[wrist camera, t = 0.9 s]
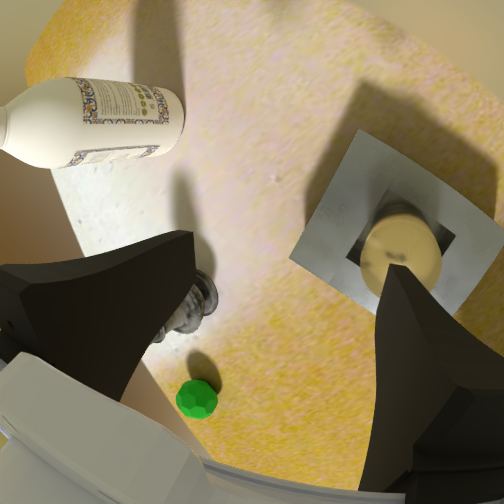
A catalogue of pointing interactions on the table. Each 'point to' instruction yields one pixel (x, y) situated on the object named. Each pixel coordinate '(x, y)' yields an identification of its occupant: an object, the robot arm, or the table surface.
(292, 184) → the table surface
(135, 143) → the bath foam
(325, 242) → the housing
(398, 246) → the plug
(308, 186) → the table surface
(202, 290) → the grey chess piece
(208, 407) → the polyhedron
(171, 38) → the table surface
